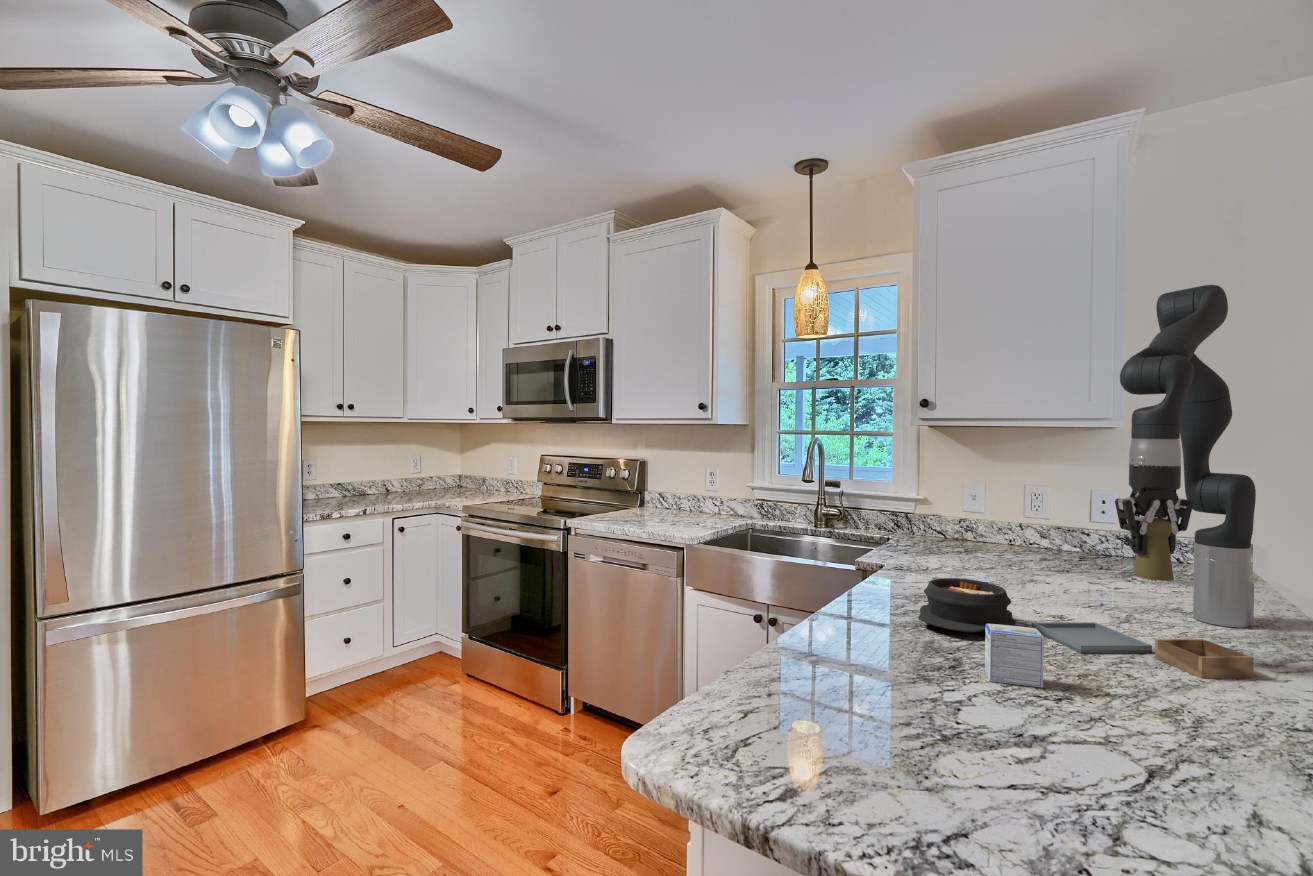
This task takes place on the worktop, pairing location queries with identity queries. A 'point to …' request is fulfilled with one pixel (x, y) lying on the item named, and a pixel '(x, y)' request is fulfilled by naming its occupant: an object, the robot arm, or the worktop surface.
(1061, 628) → the tray
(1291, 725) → the worktop surface
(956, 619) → the casserole
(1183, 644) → the holder
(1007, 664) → the medicine box
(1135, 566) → the cork
